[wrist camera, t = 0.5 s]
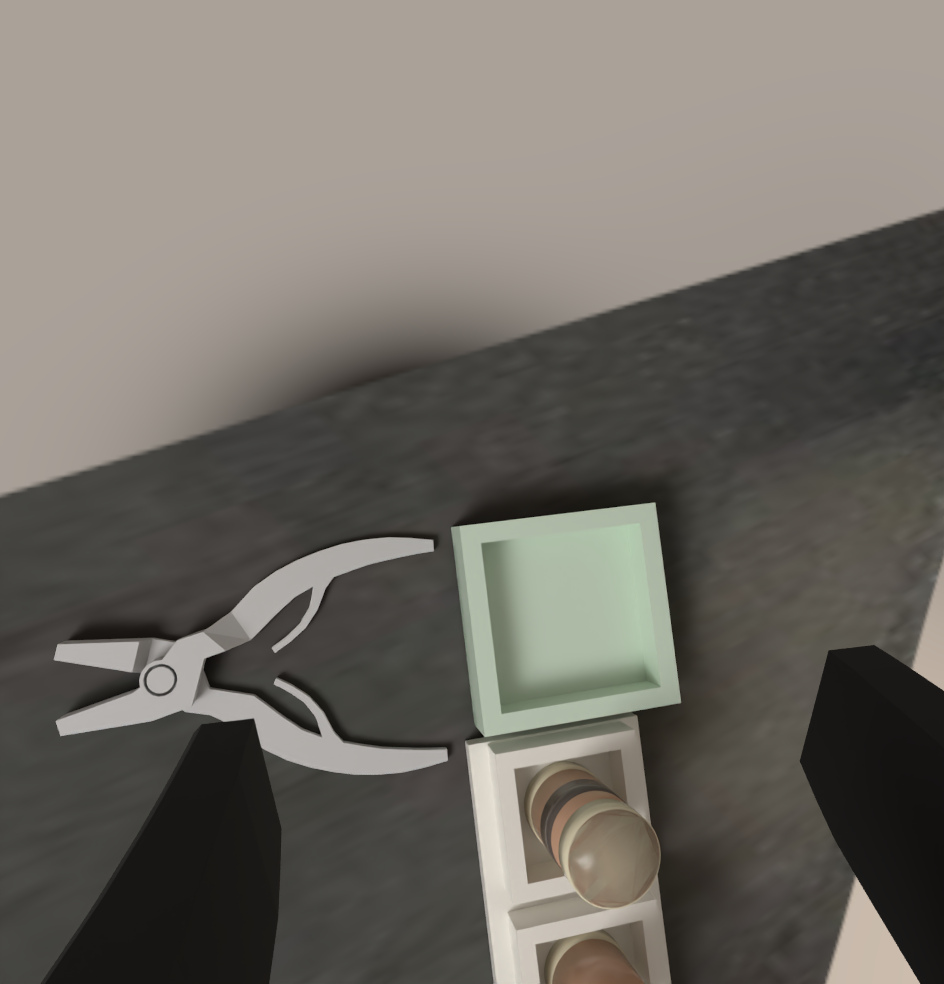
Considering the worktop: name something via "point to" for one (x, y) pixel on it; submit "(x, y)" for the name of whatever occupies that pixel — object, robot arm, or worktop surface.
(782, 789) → the worktop surface
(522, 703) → the tray
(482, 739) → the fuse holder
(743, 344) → the worktop surface
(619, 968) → the fuse
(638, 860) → the cylinder
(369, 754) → the pliers
